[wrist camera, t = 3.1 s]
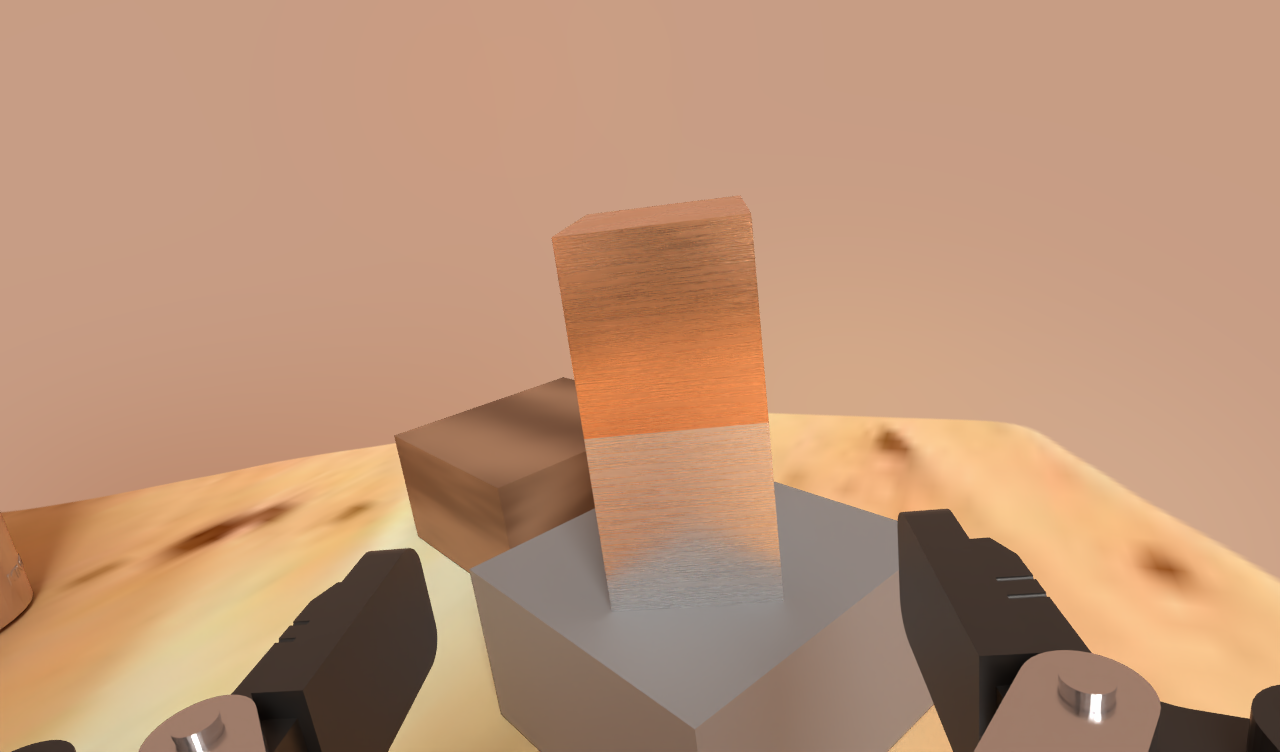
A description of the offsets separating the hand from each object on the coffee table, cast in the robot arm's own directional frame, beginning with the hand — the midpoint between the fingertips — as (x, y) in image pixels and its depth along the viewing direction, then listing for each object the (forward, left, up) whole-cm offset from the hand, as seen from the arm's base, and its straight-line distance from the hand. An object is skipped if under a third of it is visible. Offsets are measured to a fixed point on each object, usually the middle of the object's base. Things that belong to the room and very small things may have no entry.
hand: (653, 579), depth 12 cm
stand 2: (+8, +8, -12) cm, 16 cm away
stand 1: (+12, +24, -12) cm, 29 cm away
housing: (+8, +8, -6) cm, 13 cm away
